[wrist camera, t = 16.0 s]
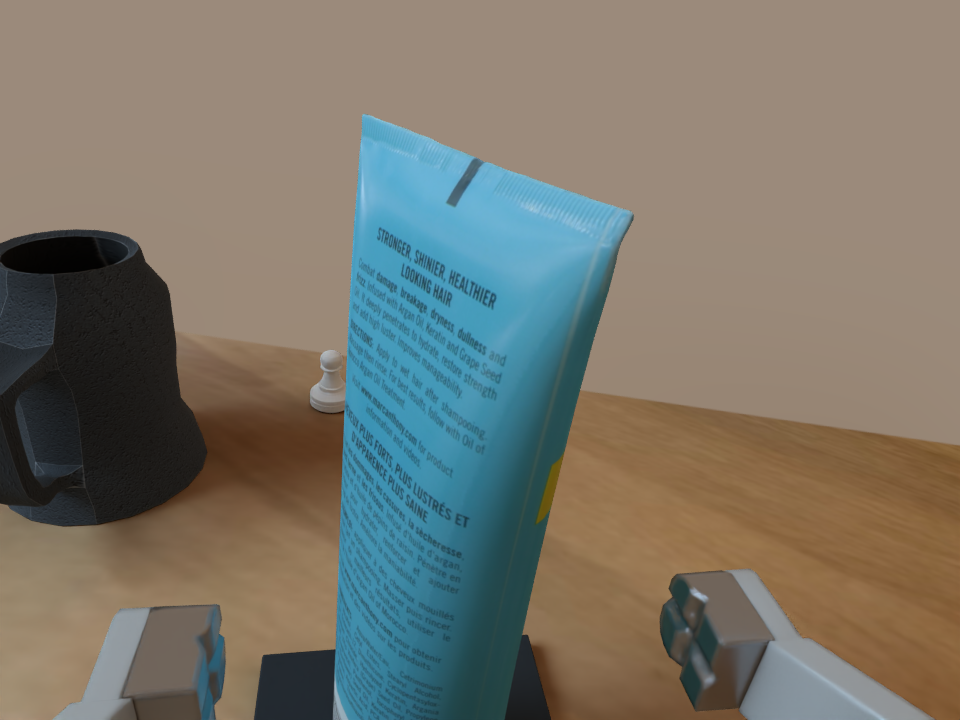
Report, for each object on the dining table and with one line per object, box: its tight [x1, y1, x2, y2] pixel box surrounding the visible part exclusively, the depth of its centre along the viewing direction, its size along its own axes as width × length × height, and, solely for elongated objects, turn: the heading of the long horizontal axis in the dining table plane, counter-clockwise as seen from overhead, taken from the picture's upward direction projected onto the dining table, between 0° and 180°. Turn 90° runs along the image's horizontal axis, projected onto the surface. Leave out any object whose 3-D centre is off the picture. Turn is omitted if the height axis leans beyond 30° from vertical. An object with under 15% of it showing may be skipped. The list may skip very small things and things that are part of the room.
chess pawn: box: [310, 350, 346, 413], centre depth 39 cm, size 3×3×4 cm
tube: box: [333, 114, 634, 720], centre depth 16 cm, size 7×5×19 cm, turn 43°
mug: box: [0, 230, 207, 526], centre depth 29 cm, size 12×9×11 cm
